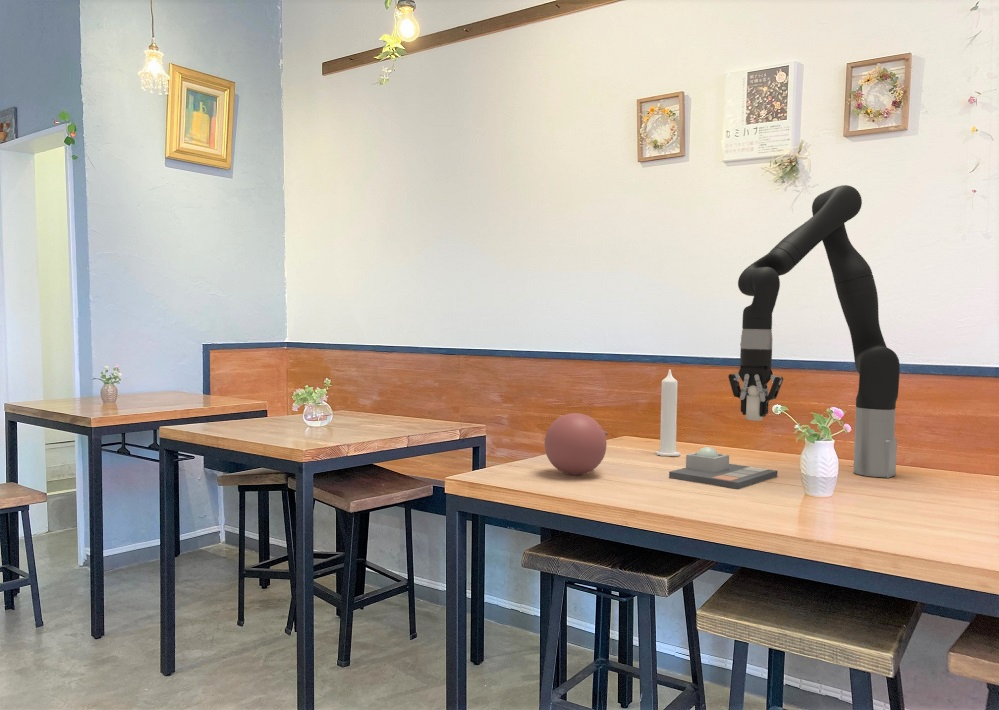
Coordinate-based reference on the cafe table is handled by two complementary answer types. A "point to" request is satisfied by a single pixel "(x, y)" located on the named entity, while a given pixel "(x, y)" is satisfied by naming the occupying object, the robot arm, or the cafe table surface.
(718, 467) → the game board
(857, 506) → the cafe table surface
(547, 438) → the mauve rubber ball
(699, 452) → the dome
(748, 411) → the pawn
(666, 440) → the candle
